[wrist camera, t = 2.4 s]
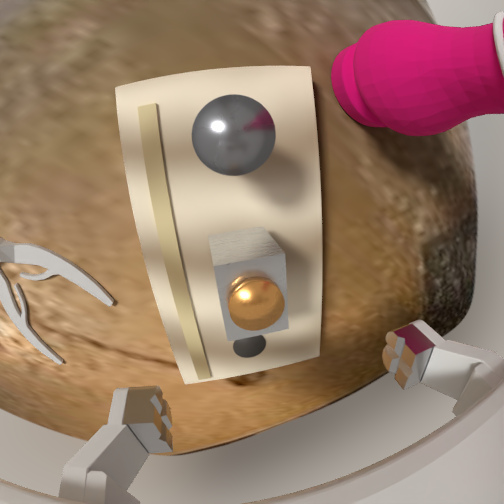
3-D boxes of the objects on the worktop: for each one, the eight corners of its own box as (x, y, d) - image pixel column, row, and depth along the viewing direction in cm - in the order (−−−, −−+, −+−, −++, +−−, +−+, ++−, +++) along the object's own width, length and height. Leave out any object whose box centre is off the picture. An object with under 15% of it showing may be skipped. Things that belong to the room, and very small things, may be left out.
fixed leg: (189, 113, 14) (187, 99, 9) (248, 106, 14) (271, 91, 10) (196, 170, 15) (197, 181, 10) (254, 162, 15) (279, 170, 11)
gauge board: (121, 91, 13) (114, 86, 12) (301, 71, 15) (311, 65, 13) (184, 371, 22) (185, 386, 20) (312, 345, 23) (320, 357, 22)
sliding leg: (207, 230, 16) (214, 272, 11) (259, 222, 16) (289, 258, 11) (218, 292, 17) (229, 349, 12) (265, 283, 18) (292, 336, 13)
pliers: (56, 372, 18) (-58, 257, 12) (61, 361, 19) (-49, 250, 14) (112, 307, 17) (-26, 161, 11) (117, 295, 18) (-14, 159, 12)
